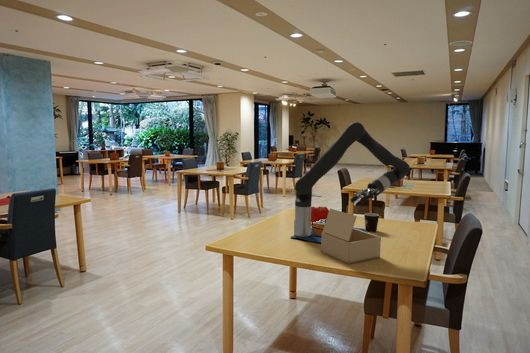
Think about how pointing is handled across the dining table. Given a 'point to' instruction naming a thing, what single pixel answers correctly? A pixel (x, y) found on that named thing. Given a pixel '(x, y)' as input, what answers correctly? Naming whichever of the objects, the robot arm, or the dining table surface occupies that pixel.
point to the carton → (351, 246)
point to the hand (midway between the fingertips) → (356, 201)
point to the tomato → (319, 213)
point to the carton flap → (339, 224)
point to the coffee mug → (371, 222)
